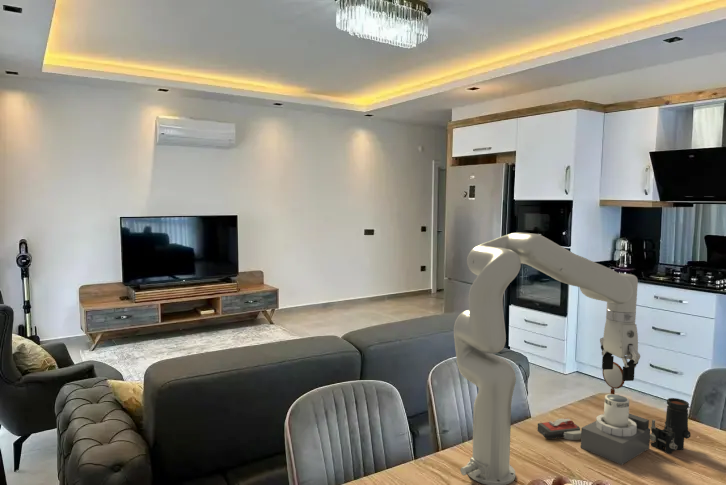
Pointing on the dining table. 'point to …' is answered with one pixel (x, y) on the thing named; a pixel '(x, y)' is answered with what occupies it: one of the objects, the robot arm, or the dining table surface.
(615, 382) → the magnifying glass
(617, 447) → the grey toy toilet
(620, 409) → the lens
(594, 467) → the dining table surface
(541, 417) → the dining table surface
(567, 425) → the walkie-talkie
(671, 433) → the scope
